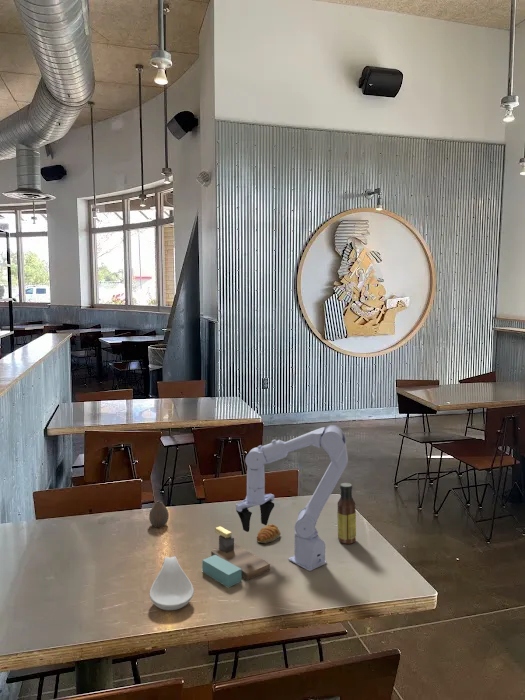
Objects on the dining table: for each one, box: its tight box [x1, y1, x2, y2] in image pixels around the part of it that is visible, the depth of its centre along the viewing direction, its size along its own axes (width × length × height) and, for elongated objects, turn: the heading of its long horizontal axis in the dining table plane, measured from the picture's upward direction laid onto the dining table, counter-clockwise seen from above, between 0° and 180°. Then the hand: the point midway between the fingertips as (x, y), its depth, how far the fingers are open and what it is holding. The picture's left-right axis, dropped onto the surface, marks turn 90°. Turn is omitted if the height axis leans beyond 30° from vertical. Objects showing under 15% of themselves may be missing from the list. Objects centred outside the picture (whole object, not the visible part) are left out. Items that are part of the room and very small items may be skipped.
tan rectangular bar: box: [214, 525, 232, 539], centre depth 169 cm, size 6×2×2 cm, turn 41°
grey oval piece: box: [148, 500, 169, 528], centre depth 190 cm, size 7×7×9 cm
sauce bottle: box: [336, 482, 357, 545], centre depth 179 cm, size 7×6×20 cm
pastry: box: [256, 523, 282, 544], centre depth 180 cm, size 9×7×4 cm
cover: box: [201, 555, 242, 588], centre depth 155 cm, size 12×5×4 cm, turn 44°
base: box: [210, 535, 271, 581], centre depth 163 cm, size 18×9×6 cm, turn 41°
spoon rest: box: [149, 556, 195, 611], centre depth 146 cm, size 24×12×7 cm, turn 13°
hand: (255, 527), depth 167 cm, fingers open, 7 cm apart
